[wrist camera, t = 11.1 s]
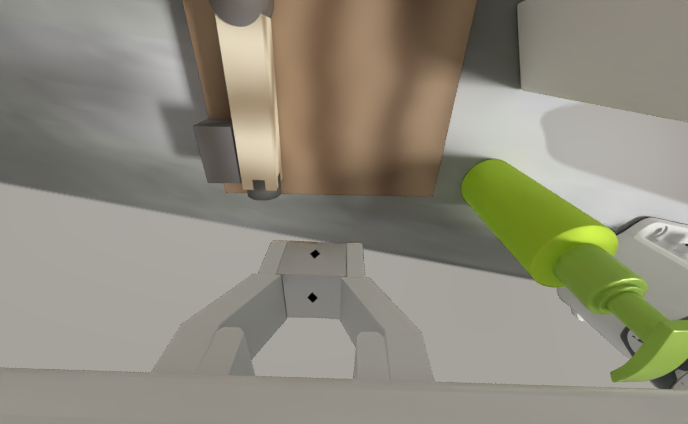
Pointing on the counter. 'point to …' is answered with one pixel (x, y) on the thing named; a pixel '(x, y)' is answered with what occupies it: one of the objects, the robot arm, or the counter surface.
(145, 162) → the counter surface
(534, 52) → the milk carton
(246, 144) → the folding leg
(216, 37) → the wooden tray
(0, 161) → the counter surface
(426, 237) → the counter surface
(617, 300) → the soap dispenser
